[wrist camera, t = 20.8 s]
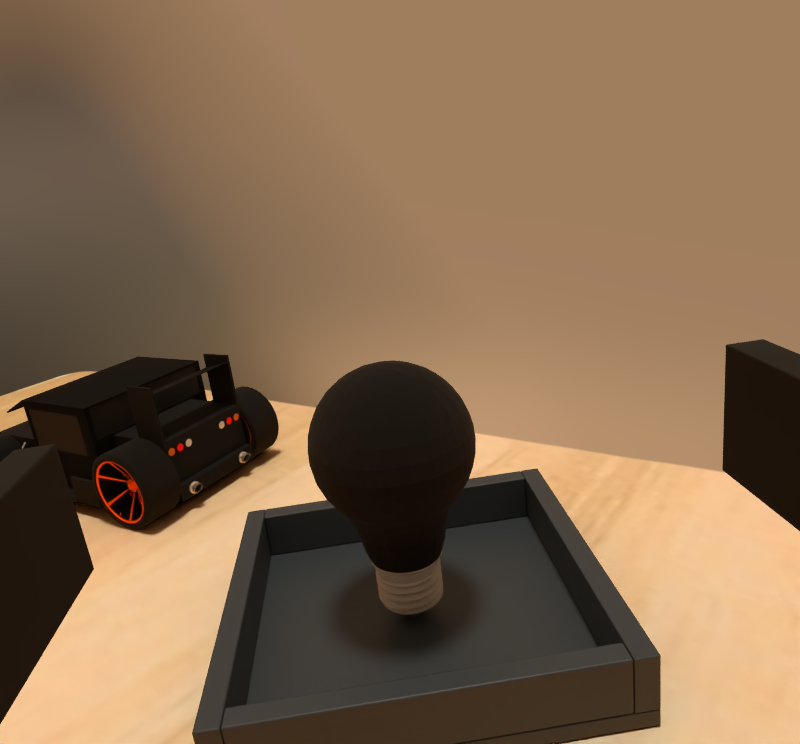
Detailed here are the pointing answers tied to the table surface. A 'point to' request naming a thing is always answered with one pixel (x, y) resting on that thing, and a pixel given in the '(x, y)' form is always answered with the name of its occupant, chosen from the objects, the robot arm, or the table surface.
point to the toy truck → (146, 433)
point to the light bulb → (395, 471)
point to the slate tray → (427, 634)
